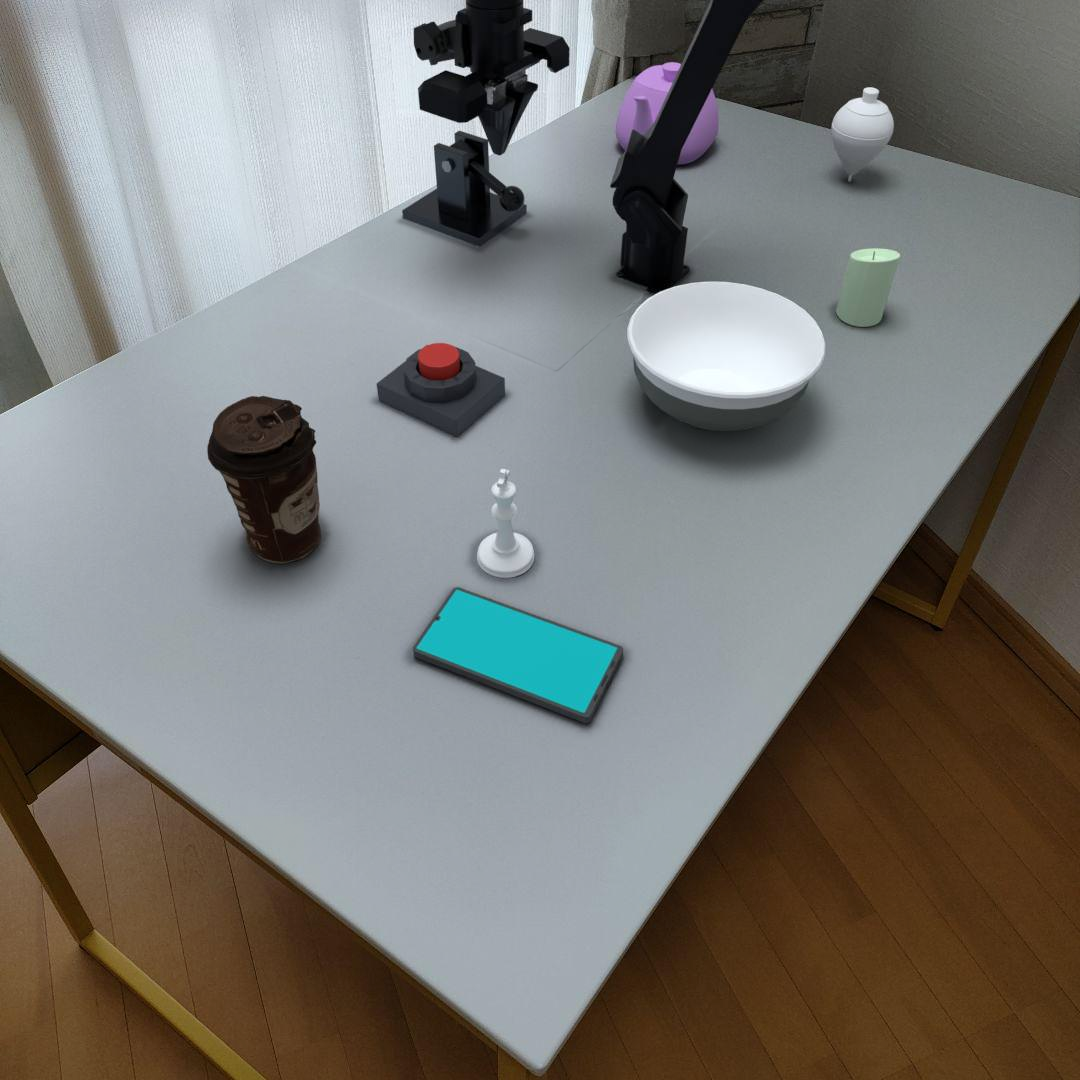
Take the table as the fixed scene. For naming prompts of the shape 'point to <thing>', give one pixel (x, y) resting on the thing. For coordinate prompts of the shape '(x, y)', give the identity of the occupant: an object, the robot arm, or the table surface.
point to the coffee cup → (269, 475)
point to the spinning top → (861, 130)
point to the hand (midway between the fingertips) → (498, 153)
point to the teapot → (647, 103)
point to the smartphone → (520, 653)
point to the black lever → (492, 180)
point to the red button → (439, 361)
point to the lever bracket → (462, 197)
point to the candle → (867, 286)
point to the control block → (442, 394)
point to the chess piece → (505, 536)
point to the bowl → (724, 353)
